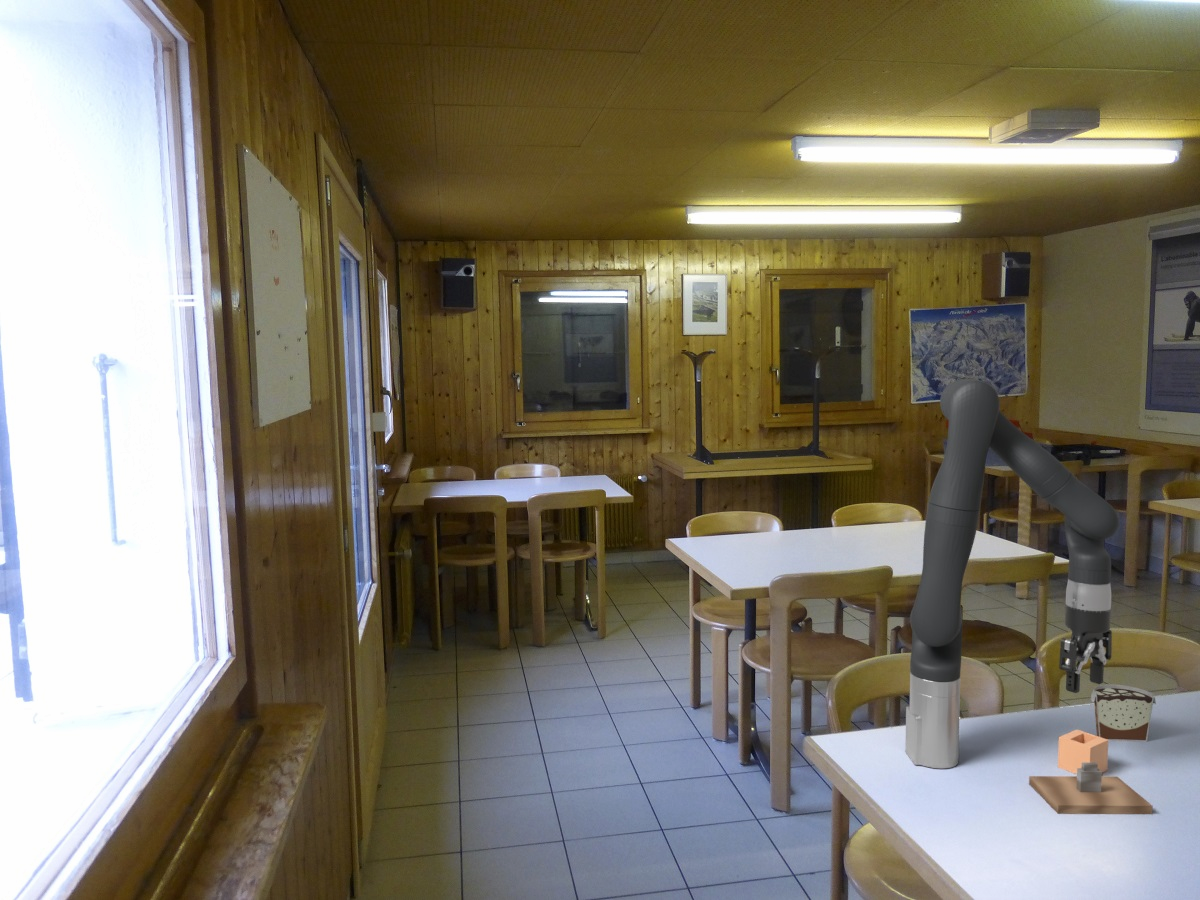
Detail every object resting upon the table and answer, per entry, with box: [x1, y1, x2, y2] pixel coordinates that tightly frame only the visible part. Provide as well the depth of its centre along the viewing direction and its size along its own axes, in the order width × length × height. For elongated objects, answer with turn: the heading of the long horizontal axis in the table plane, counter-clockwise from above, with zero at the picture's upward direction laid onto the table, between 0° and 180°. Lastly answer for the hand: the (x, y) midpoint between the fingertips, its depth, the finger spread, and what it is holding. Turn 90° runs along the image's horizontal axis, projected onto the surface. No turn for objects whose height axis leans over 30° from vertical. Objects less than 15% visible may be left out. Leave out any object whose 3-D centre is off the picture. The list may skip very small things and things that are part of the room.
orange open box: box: [1057, 729, 1109, 775], centre depth 168 cm, size 6×6×6 cm
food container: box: [1090, 683, 1157, 743], centre depth 183 cm, size 12×6×10 cm, turn 84°
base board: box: [1028, 763, 1154, 815], centre depth 156 cm, size 16×11×6 cm
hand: (1084, 687), depth 167 cm, fingers open, 8 cm apart
